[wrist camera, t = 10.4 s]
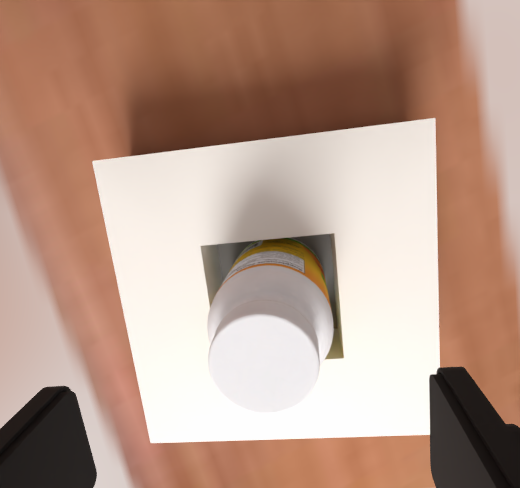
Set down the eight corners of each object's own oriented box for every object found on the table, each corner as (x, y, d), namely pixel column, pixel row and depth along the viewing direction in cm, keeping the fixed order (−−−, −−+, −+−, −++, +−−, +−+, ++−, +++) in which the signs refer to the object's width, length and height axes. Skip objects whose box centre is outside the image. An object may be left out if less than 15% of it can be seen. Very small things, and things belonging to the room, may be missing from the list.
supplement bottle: (317, 325, 23) (329, 443, 14) (229, 314, 24) (183, 420, 14) (330, 239, 22) (353, 305, 13) (237, 228, 23) (192, 284, 13)
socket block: (131, 159, 23) (92, 161, 19) (407, 124, 21) (435, 117, 17) (174, 395, 27) (150, 443, 22) (416, 384, 25) (440, 434, 20)
